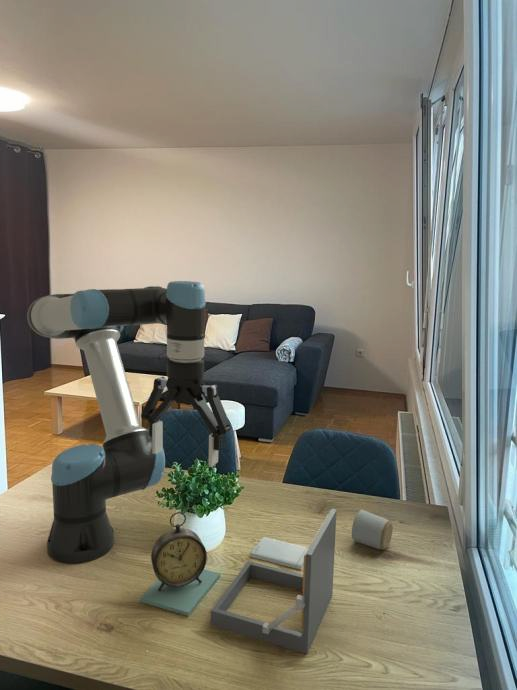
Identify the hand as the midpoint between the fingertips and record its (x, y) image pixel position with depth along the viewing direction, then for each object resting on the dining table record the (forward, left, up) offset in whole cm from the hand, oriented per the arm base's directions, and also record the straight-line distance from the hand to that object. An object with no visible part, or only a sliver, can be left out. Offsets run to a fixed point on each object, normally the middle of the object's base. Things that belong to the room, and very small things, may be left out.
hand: (184, 457), depth 113 cm
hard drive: (+17, +16, -28) cm, 36 cm away
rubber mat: (+2, -5, -27) cm, 27 cm away
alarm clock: (+1, -5, -26) cm, 27 cm away
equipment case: (+22, -3, -27) cm, 35 cm away
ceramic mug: (+35, +31, -27) cm, 54 cm away
